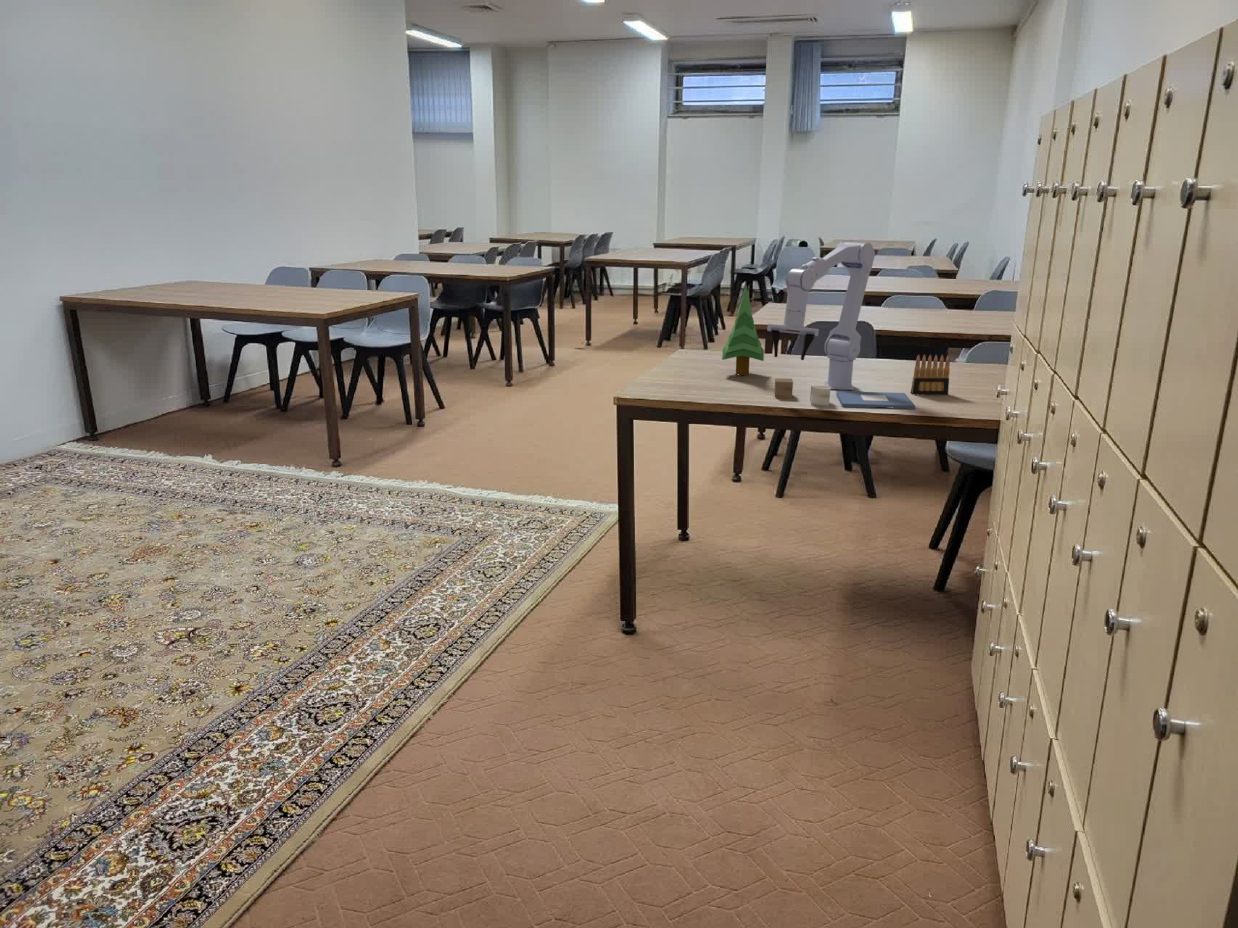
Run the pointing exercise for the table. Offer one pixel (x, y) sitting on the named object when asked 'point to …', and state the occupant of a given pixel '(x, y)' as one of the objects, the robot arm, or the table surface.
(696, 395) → the table surface
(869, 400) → the board
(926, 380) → the ammunition clip
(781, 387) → the walnut block
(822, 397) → the off-white block
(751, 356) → the decorative tree
